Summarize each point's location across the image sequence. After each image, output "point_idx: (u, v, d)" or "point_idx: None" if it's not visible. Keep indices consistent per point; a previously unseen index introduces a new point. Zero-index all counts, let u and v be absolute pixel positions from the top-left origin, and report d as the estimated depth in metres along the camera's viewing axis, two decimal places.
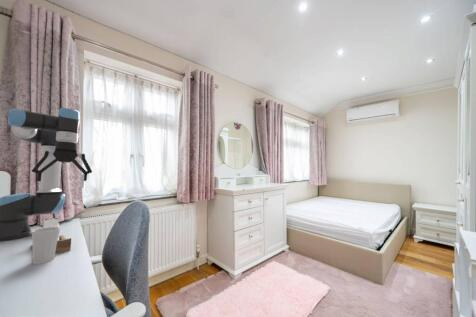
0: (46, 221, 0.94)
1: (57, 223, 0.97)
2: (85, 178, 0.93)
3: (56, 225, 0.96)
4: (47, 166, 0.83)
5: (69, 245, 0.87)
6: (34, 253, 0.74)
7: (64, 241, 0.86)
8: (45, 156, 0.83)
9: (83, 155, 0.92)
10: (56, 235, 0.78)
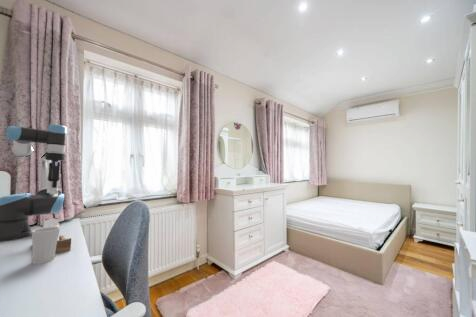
0: (46, 221, 0.94)
1: (57, 223, 0.97)
2: (52, 185, 0.99)
3: (56, 225, 0.96)
4: (49, 174, 1.07)
5: (69, 245, 0.87)
6: (34, 253, 0.74)
7: (64, 241, 0.86)
8: None
9: (53, 163, 1.00)
10: (56, 235, 0.78)
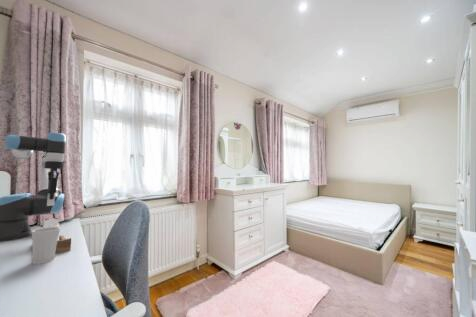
0: (46, 221, 0.94)
1: (57, 223, 0.97)
2: (49, 197, 1.02)
3: (56, 225, 0.96)
4: (48, 185, 1.04)
5: (69, 245, 0.87)
6: (34, 253, 0.74)
7: (64, 241, 0.86)
8: None
9: (51, 175, 1.00)
10: (56, 235, 0.78)
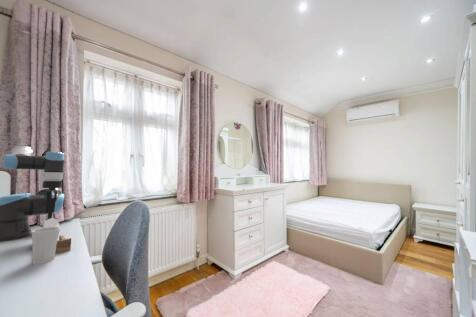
0: (46, 221, 0.94)
1: (57, 223, 0.97)
2: (47, 217, 1.00)
3: (56, 225, 0.96)
4: (47, 205, 1.02)
5: (69, 245, 0.87)
6: (34, 253, 0.74)
7: (64, 241, 0.86)
8: None
9: (49, 196, 0.99)
10: (56, 235, 0.78)
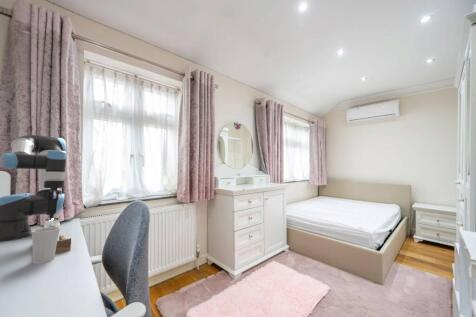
0: (47, 222, 0.92)
1: (58, 224, 0.95)
2: None
3: (57, 226, 0.95)
4: (48, 206, 0.98)
5: (69, 245, 0.87)
6: (34, 253, 0.74)
7: (64, 241, 0.86)
8: None
9: (51, 196, 0.94)
10: (56, 235, 0.78)
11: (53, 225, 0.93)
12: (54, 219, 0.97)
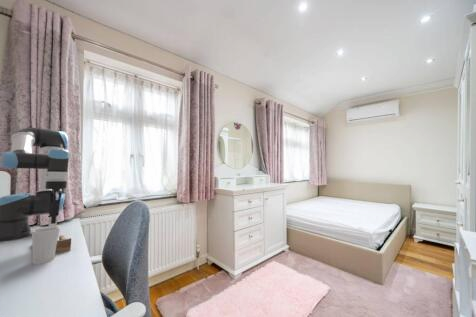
0: None
1: None
2: (51, 221, 0.92)
3: None
4: (50, 207, 0.93)
5: (69, 245, 0.87)
6: (34, 253, 0.74)
7: (64, 241, 0.86)
8: None
9: (53, 197, 0.90)
10: (56, 235, 0.78)
11: None
12: None
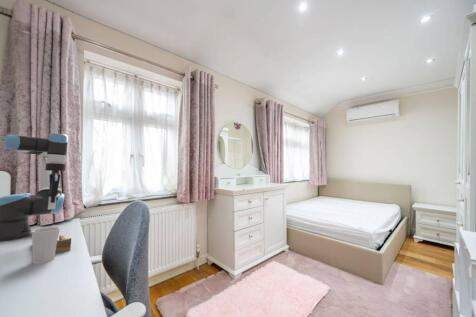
0: None
1: None
2: (51, 200, 0.98)
3: None
4: (50, 188, 1.00)
5: (69, 245, 0.87)
6: (34, 253, 0.74)
7: (64, 241, 0.86)
8: None
9: (52, 178, 0.96)
10: (56, 235, 0.78)
11: None
12: None
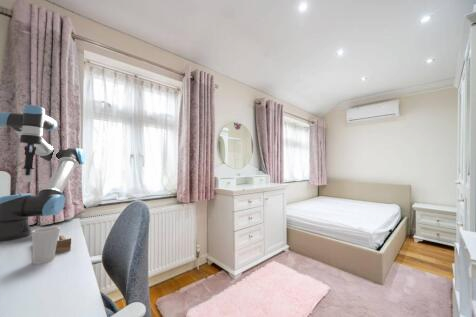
0: None
1: None
2: (25, 172, 0.96)
3: None
4: (25, 161, 0.98)
5: (69, 245, 0.87)
6: (34, 253, 0.74)
7: (64, 241, 0.86)
8: None
9: (27, 149, 0.94)
10: (56, 235, 0.78)
11: None
12: None
